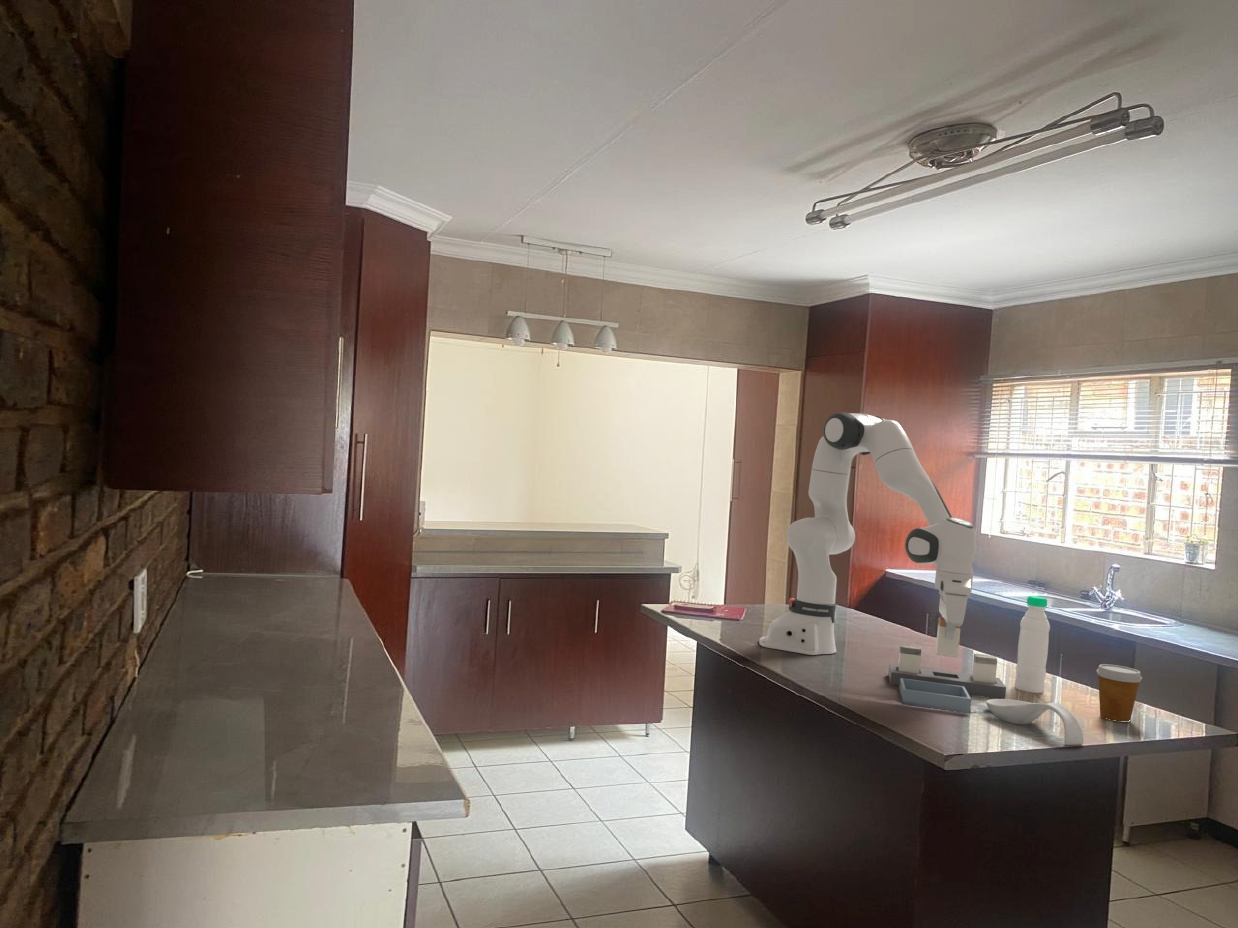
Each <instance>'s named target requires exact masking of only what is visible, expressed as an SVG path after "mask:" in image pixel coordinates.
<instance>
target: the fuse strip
mask: <svg viewBox="0 0 1238 928" xmlns="http://www.w3.org/2000/svg"><path fill="white" fill-rule="evenodd" d="M900 678H904V679H912V680H919V681H927V682H934V683H942V684H949V685H956V686H964V687H965V689H966V691H967V692H968V694H969V696H975V697H982V698H983V697H984V698H987V699H988V698H990V699H1006V693H1007V687H1006V685H1005V684H1004V683H1003V681H1002V680H1001V678H1000V677H996V681H995V683H987V682H980V681H972V674H971V673H970V674H969V673H963V672H955V671H947V670H941V669H934V668H933V669H931V668H925V667H920V672H919V673H911V672H904V671H898V664H894V663H889V664H888V680H889V684H890V685H894V686H900Z"/></svg>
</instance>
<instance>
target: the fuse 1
mask: <svg viewBox="0 0 1238 928" xmlns="http://www.w3.org/2000/svg"><path fill="white" fill-rule="evenodd" d="M921 658H922V647H921V646H916V645H907V644H899V650H898V663H897V665H898V671H904V672H911V673H919V672H920V668H921Z"/></svg>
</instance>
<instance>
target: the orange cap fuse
mask: <svg viewBox="0 0 1238 928" xmlns="http://www.w3.org/2000/svg"><path fill="white" fill-rule="evenodd" d="M946 624H947V623H946V621H945V620H944V618H943V617H938V623H937V631H936V633H937V634H936V641H935V654H936V656H941V657H947V658H956V659H958V657H959V649H960V648H959V647H960V640H961V638H960V636H961V627H962V625H961V626H956V628H955V631H954V638H953V639H952V640H951V639H947V638H946V637H945V635H946V627H947V625H946Z"/></svg>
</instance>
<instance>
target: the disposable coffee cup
mask: <svg viewBox="0 0 1238 928" xmlns="http://www.w3.org/2000/svg"><path fill="white" fill-rule="evenodd" d="M1096 673H1097V677H1098V697H1099V716H1100V717H1101V718H1102V717H1103V718H1102V719H1104V718H1107V719H1110V720H1116V721H1129V720H1130V721H1131V719H1132V714H1133V710H1134V706H1135V701H1136V699H1137V693H1138V690H1139V686H1140V685H1139V684H1140V682H1141V681H1142V679H1143V676H1142V675H1141V671H1140V670H1138V669H1135V668H1133V667H1132V668H1131V667H1128V666H1125V665H1124V666H1122V665H1116V664H1110V663H1109V664H1106V663H1102V664H1099V665H1098V667H1097V669H1096ZM1107 719H1106V720H1107ZM1110 720H1109V721H1110Z"/></svg>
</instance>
